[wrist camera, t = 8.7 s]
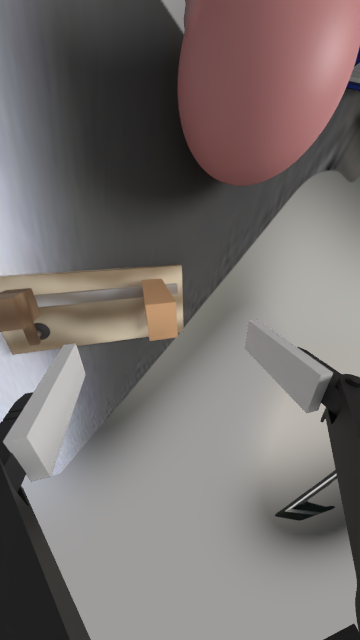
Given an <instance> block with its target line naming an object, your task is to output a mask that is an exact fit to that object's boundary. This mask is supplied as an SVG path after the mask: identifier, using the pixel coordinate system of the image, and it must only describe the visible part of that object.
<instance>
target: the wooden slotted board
mask: <svg viewBox="0 0 360 640" xmlns="http://www.w3.org/2000/svg"><path fill="white" fill-rule="evenodd" d="M160 278H161V279H162V280H163V282H164V283H165V285H166V287H167V288H168V290H169V291H170V293H171V295H172V296H173V298H174V299H175V301H176V311H177V333H179V332H183V296H182V266H181V265H180V264H179V265H164V266H148V267H133V268H117V269H102V270H86V271H71V272H56V273H40V274H25V275H9V276H0V332H2V334H3V336H4V338H5V340H6V342H7V344H8V346H9V348H10V350H11V352H12V354H21V353H28V352H36V351H43V350H51V349H58V348H62V347H63V345H67V344H74V343H76V346H81V345H88V344H96V343H103V342H111V341H118V340H126V339H133V338H141V337H148V336H149V333H148V325H147V318H146V311H145V304H144V295H143V287H142V280H147V279H160Z"/></svg>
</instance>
